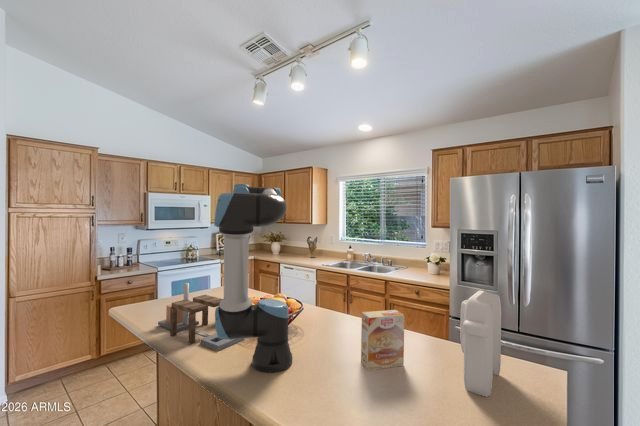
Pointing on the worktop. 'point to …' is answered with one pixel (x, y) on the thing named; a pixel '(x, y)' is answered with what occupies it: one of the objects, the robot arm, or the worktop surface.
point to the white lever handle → (178, 314)
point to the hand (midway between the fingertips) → (240, 262)
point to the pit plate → (218, 342)
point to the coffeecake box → (382, 339)
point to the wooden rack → (192, 314)
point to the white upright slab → (481, 341)
